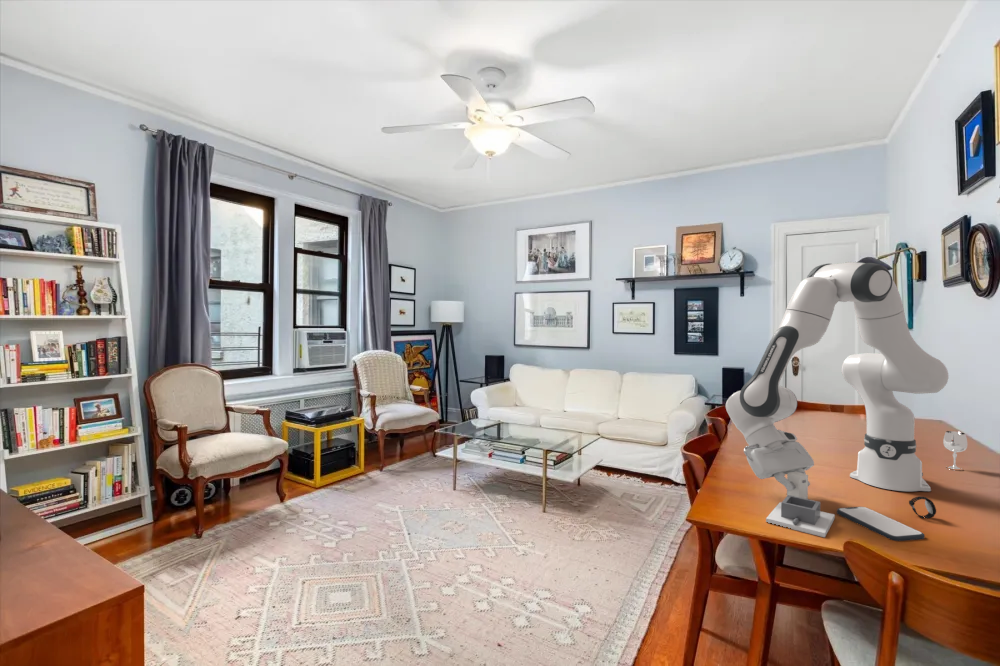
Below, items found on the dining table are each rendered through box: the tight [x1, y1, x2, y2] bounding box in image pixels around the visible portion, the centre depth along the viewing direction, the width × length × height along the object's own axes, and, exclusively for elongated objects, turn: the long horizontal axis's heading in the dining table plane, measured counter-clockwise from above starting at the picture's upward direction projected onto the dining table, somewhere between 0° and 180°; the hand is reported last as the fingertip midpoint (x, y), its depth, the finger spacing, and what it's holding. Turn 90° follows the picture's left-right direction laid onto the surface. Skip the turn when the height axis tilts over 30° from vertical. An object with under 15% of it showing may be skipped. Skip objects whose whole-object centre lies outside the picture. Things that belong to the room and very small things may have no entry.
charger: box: [786, 471, 809, 499], centre depth 129 cm, size 3×4×8 cm
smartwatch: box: [908, 496, 937, 519], centre depth 120 cm, size 4×5×5 cm
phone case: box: [836, 506, 925, 542], centre depth 115 cm, size 9×2×16 cm
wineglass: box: [942, 430, 968, 469], centre depth 158 cm, size 6×6×12 cm
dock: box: [765, 494, 836, 538], centre depth 118 cm, size 14×12×4 cm
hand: (799, 487), depth 128 cm, fingers open, 4 cm apart
